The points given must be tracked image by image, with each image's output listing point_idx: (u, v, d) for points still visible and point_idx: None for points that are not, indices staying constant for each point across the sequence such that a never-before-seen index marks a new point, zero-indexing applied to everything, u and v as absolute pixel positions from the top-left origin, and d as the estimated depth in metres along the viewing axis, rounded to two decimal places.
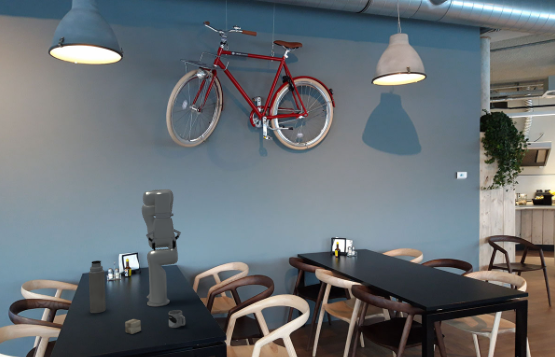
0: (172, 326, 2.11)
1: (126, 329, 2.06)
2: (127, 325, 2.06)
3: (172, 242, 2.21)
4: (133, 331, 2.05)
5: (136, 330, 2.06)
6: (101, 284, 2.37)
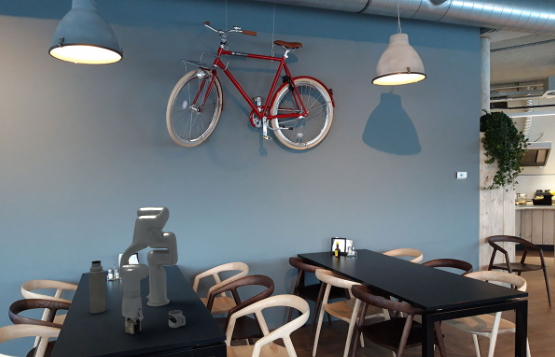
0: (172, 326, 2.11)
1: (126, 329, 2.06)
2: (127, 325, 2.06)
3: None
4: (133, 331, 2.05)
5: None
6: (101, 284, 2.37)
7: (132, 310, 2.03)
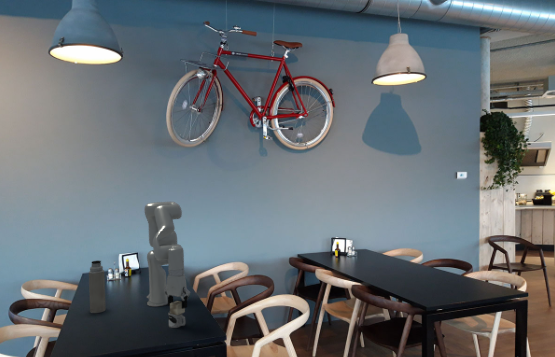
0: (172, 326, 2.11)
1: (171, 310, 2.12)
2: (172, 306, 2.11)
3: (169, 299, 2.15)
4: (178, 312, 2.10)
5: (181, 311, 2.12)
6: (101, 284, 2.37)
7: (177, 288, 2.08)
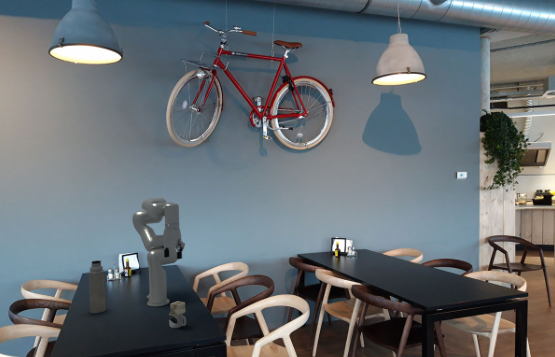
0: (173, 326, 2.10)
1: (171, 311, 2.12)
2: (172, 306, 2.11)
3: (166, 251, 2.32)
4: (179, 312, 2.10)
5: (181, 311, 2.11)
6: (101, 284, 2.37)
7: (173, 240, 2.26)
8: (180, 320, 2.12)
